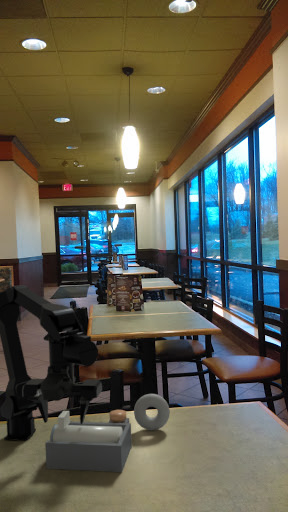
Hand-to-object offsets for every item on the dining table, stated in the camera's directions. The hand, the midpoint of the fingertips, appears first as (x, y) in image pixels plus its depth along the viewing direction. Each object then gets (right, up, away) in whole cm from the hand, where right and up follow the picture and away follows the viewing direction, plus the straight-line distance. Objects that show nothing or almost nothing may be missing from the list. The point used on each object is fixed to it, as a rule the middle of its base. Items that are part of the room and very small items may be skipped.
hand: (63, 422), depth 102 cm
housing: (+7, -8, +2) cm, 11 cm away
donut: (+22, -7, +13) cm, 27 cm away
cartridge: (+6, -7, -1) cm, 9 cm away
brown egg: (+13, -6, +7) cm, 16 cm away
